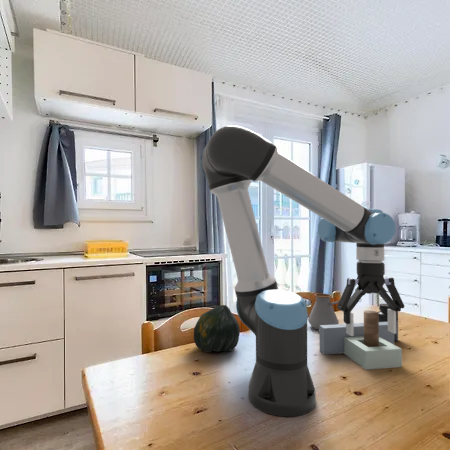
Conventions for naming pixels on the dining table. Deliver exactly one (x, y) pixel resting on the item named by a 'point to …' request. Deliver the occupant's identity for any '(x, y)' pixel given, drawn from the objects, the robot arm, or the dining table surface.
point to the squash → (217, 330)
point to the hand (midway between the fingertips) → (371, 333)
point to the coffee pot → (323, 312)
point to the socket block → (373, 353)
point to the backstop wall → (335, 336)
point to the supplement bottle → (386, 318)
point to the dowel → (371, 328)
